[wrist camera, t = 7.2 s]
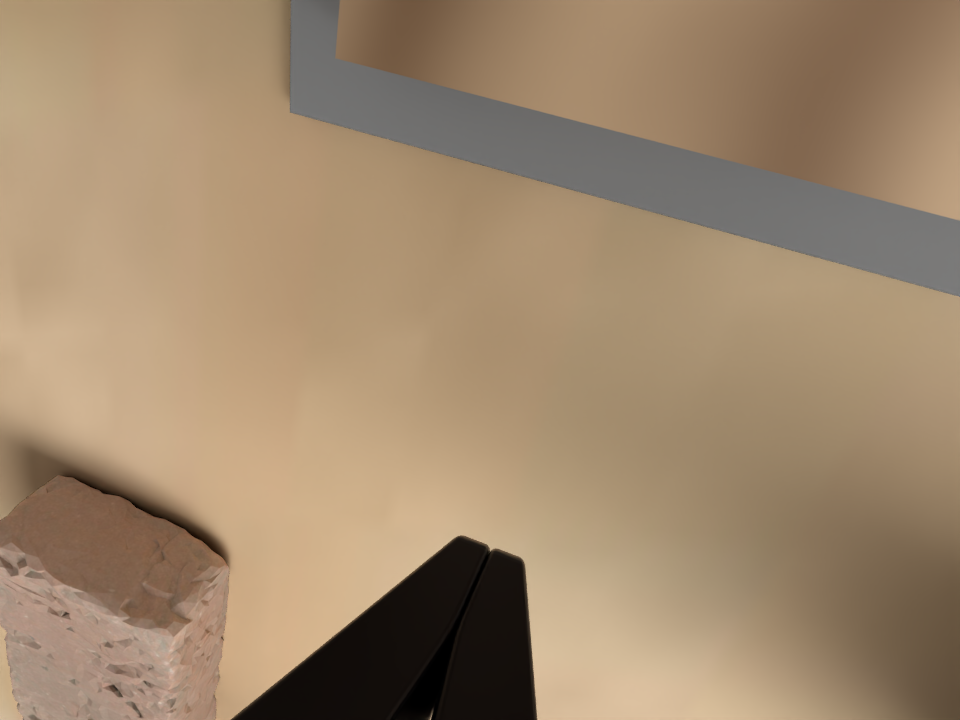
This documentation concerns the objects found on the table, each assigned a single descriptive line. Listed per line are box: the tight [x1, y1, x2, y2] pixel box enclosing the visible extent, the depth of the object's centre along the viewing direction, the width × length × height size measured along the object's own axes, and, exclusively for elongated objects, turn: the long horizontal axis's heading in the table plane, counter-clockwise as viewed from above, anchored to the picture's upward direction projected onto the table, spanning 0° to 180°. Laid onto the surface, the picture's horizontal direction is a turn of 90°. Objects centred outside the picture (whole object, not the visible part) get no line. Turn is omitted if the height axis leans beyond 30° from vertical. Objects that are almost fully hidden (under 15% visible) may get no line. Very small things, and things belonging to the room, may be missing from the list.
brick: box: [0, 475, 229, 720], centre depth 32 cm, size 17×8×5 cm, turn 164°
